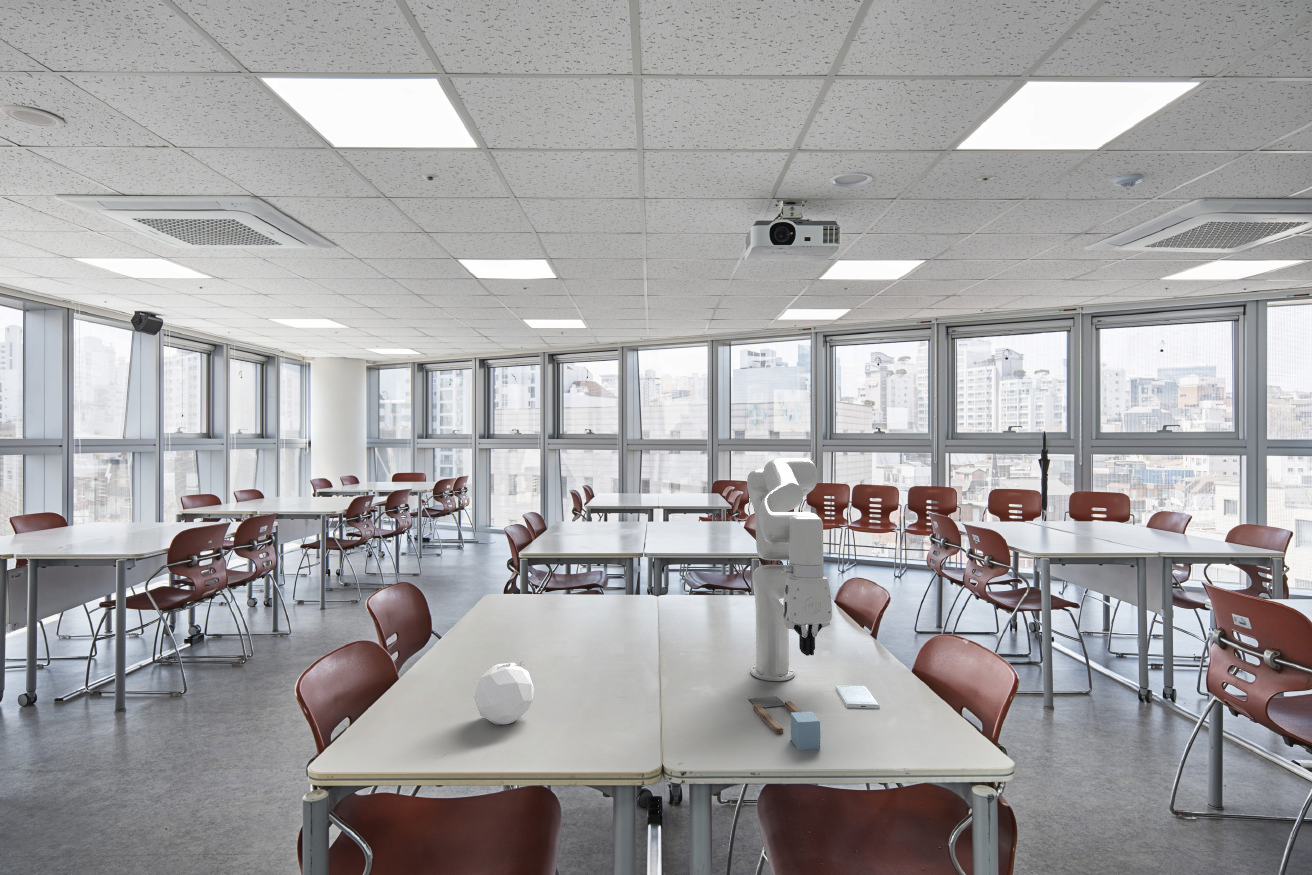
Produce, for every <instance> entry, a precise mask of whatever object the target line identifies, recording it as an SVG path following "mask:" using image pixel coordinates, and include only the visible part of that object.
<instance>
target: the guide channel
mask: <svg viewBox="0 0 1312 875" xmlns="http://www.w3.org/2000/svg"><path fill="white" fill-rule="evenodd" d="M747 701H748V702H750V703H751V704H752V705H753V710H754V712H756V714H757V715H758V716H759V717H760V718H761V719H762V720H763V721H764V722H765V723H766V724H767V725H768V726H769V727H770V728H771V729H772V730H773V732H774V733H776V735H782V734H784V728H783V726H781V724H779V723H778V722H777V720H776V719H774V717H773V716H771V714H770V713H769V712H767V710H766V709H771V708H780V707H785V708H786V709H787V710H788V711H789V712H790V713H791V712H803V711H802V710H801V709H800V708H799V707H797V706H796V704H794V703H793V702H792V701H791V700H785V701H783V700H782V699H781V698H780V697H779V696H778V695H771V696H761V697H751V698H748V700H747Z"/></svg>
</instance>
